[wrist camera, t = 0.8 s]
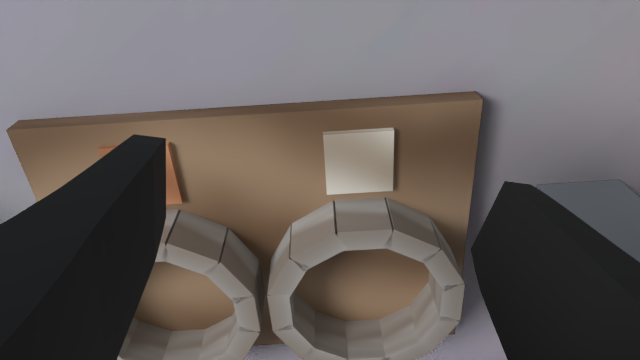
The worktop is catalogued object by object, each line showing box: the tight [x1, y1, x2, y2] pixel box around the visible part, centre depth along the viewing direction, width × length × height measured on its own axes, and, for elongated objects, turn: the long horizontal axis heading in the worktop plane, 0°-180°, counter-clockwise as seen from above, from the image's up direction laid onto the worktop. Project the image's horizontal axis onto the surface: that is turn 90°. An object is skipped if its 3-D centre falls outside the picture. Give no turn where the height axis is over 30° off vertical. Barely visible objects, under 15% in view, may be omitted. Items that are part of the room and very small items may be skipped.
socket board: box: [6, 91, 483, 360], centre depth 23 cm, size 14×20×4 cm
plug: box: [536, 180, 640, 262], centre depth 21 cm, size 4×4×8 cm
